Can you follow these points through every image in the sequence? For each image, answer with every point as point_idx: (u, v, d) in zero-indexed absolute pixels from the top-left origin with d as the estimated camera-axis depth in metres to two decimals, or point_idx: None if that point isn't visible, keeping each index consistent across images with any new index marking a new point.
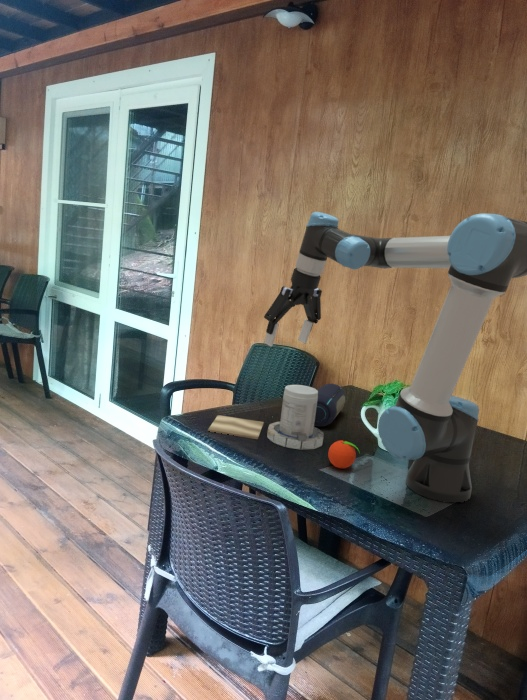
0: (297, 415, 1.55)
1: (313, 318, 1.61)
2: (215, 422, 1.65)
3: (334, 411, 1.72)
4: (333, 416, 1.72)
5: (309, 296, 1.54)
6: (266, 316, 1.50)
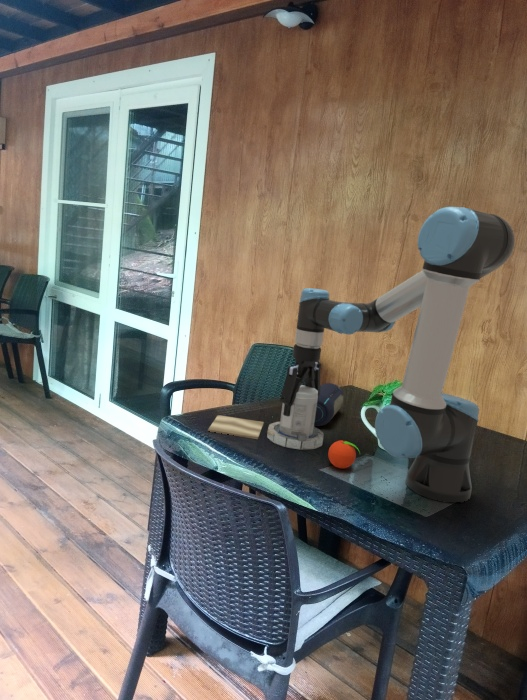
0: (297, 415, 1.55)
1: None
2: (215, 422, 1.65)
3: (331, 411, 1.72)
4: (330, 416, 1.72)
5: (313, 369, 1.57)
6: (282, 400, 1.52)
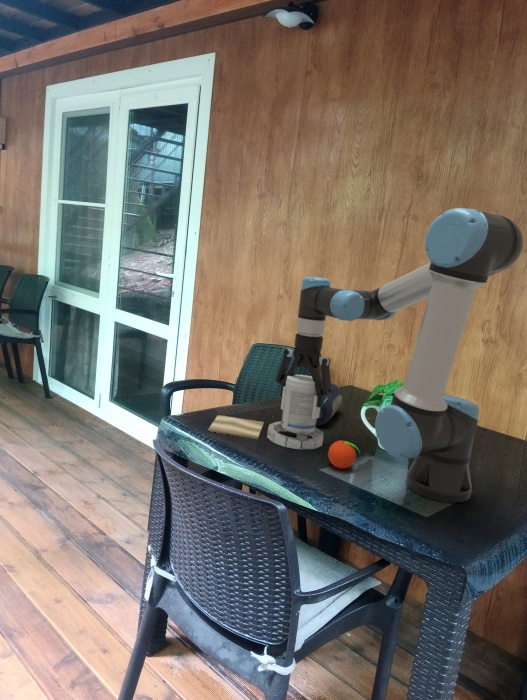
0: (284, 397, 1.59)
1: (317, 390, 1.54)
2: (215, 422, 1.65)
3: (330, 410, 1.72)
4: (329, 415, 1.73)
5: (307, 358, 1.54)
6: None
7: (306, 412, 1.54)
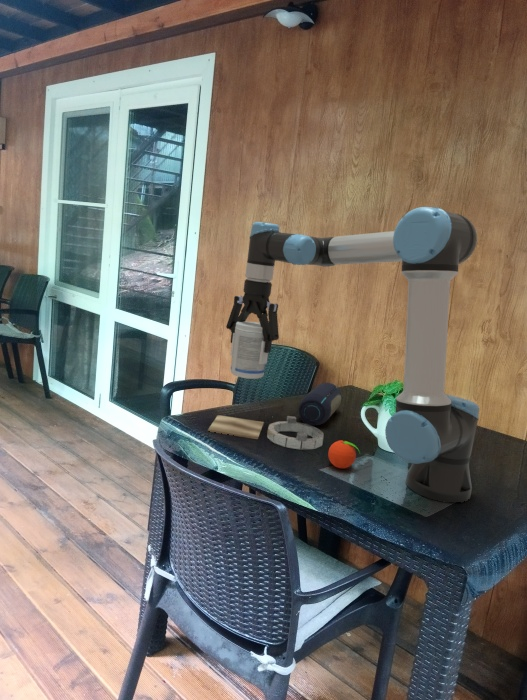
0: (233, 343, 1.60)
1: (264, 335, 1.55)
2: (215, 422, 1.65)
3: (328, 410, 1.73)
4: (327, 415, 1.73)
5: (255, 304, 1.55)
6: None
7: (253, 357, 1.56)
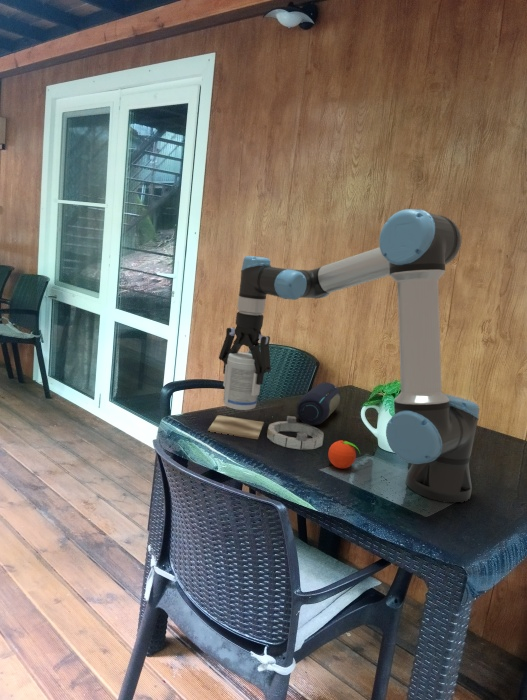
0: None
1: (257, 368, 1.57)
2: (215, 422, 1.65)
3: (327, 410, 1.73)
4: (326, 415, 1.73)
5: (247, 336, 1.57)
6: None
7: (245, 389, 1.58)
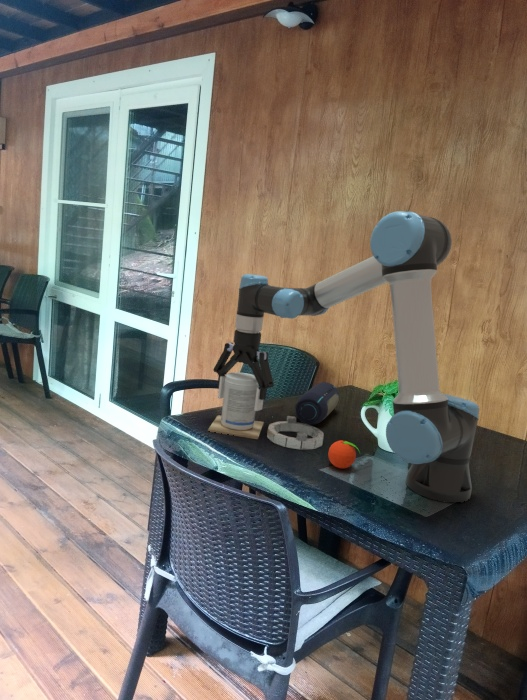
0: None
1: (259, 383, 1.57)
2: (215, 422, 1.65)
3: (325, 409, 1.73)
4: (324, 414, 1.73)
5: (245, 354, 1.58)
6: None
7: (243, 409, 1.59)
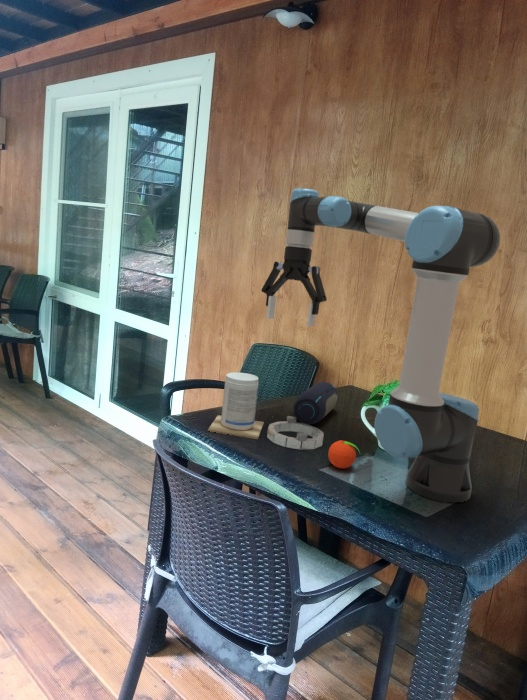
0: None
1: (312, 298, 1.56)
2: (215, 422, 1.65)
3: (323, 409, 1.73)
4: (322, 414, 1.73)
5: (296, 270, 1.58)
6: None
7: (243, 409, 1.59)
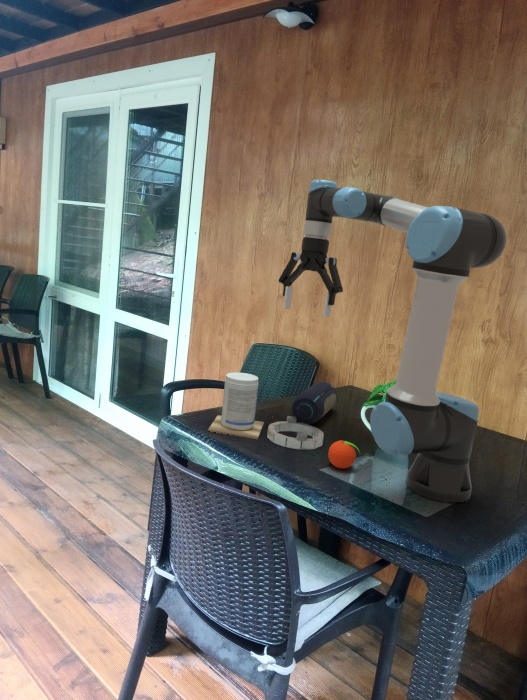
0: None
1: (328, 288, 1.58)
2: (215, 422, 1.65)
3: (321, 408, 1.73)
4: (320, 413, 1.73)
5: (313, 260, 1.59)
6: None
7: (243, 409, 1.59)
